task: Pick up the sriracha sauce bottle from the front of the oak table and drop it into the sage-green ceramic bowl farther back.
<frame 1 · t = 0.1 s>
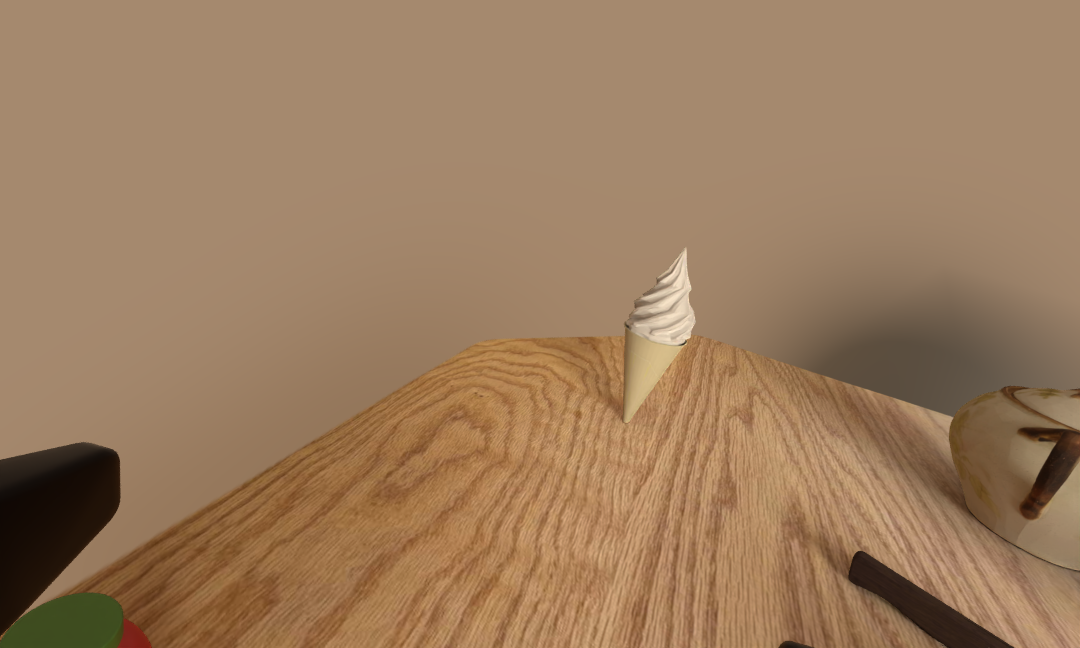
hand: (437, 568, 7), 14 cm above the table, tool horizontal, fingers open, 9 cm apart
sugar bowl: (1022, 533, 43), on the table
ice cream cone: (625, 423, 44), on the table
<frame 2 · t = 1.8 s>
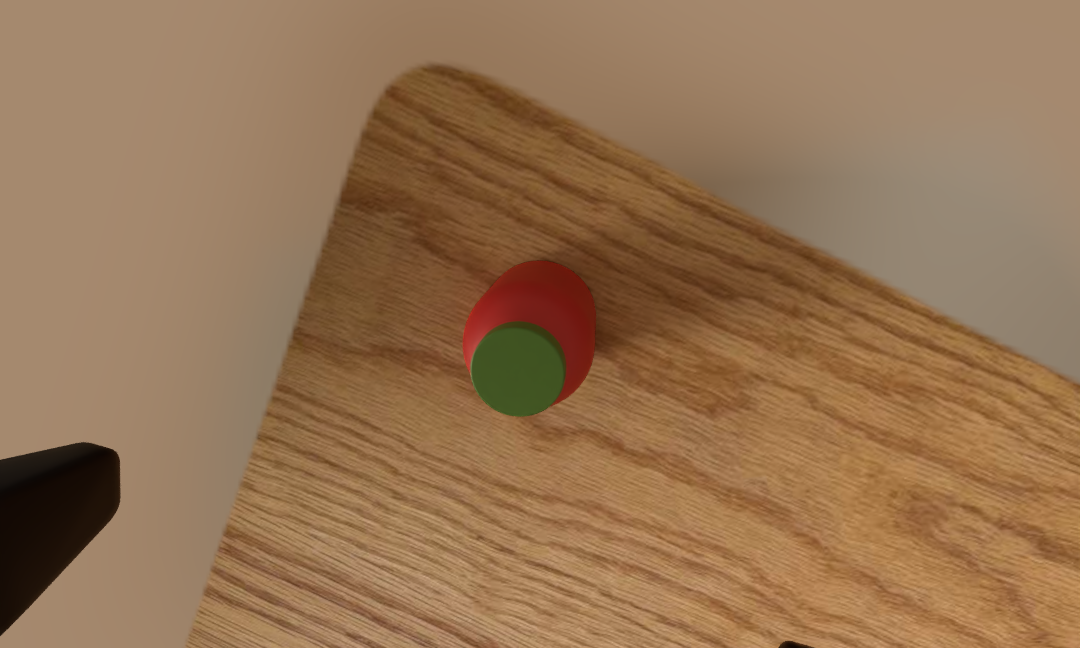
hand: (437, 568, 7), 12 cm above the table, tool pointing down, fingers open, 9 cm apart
sriracha sauce bottle: (540, 315, 18), on the table
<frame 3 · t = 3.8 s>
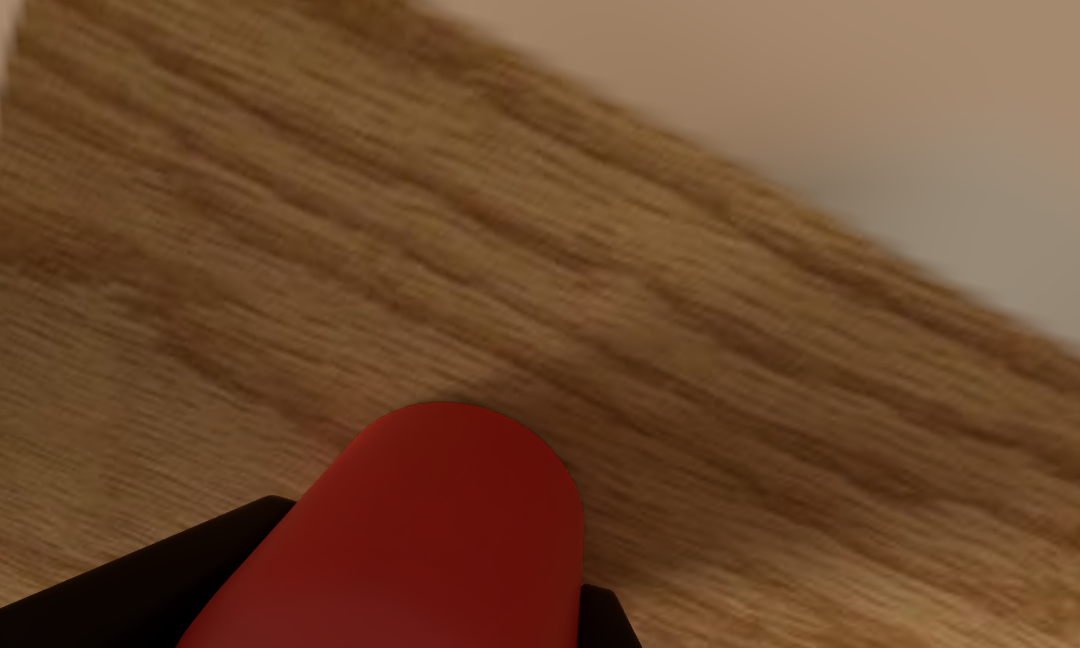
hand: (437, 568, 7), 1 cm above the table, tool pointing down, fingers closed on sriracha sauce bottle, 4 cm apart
sriracha sauce bottle: (456, 516, 8), on the table, touching gripper
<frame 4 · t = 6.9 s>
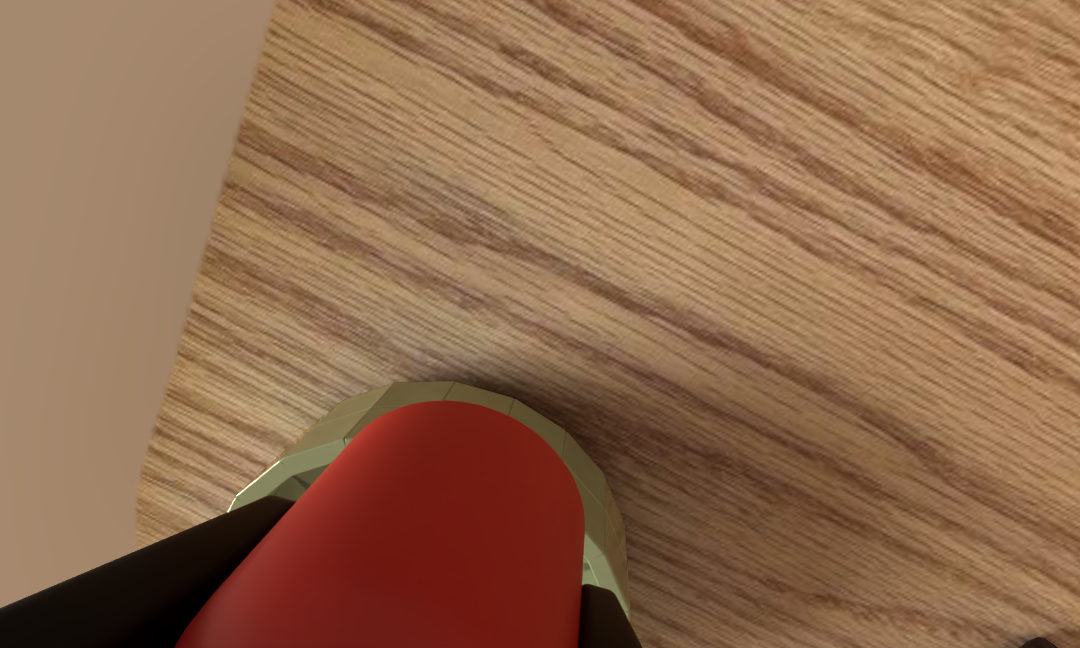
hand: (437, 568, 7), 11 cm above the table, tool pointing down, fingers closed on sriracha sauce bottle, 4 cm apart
serving bowl: (451, 532, 21), on the table
sriracha sauce bottle: (457, 515, 8), point 10 cm above the table, touching gripper
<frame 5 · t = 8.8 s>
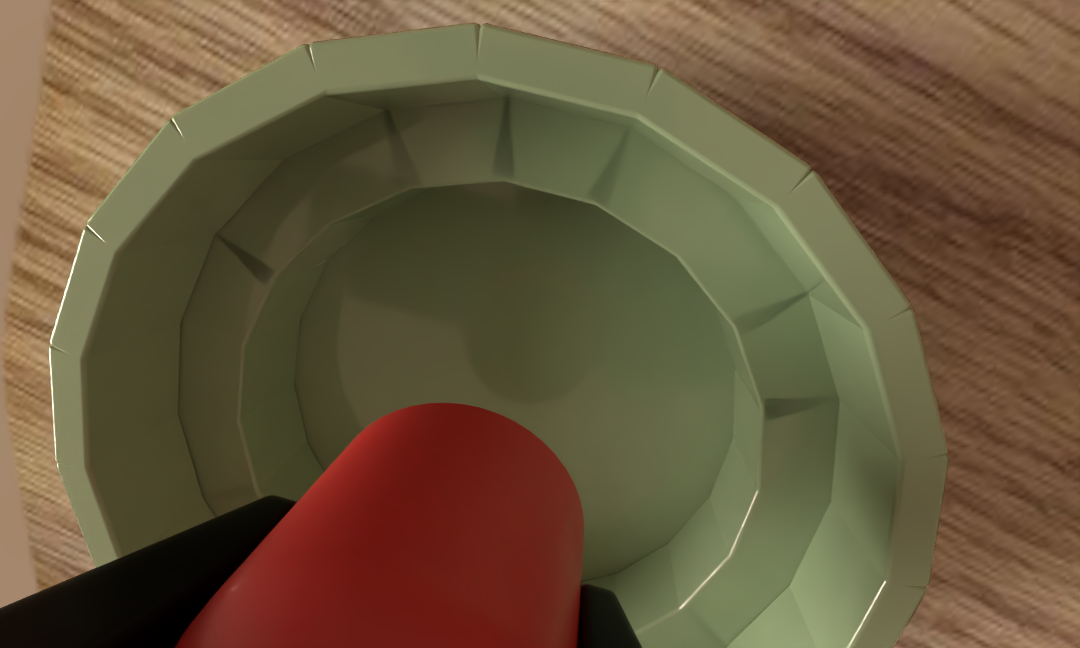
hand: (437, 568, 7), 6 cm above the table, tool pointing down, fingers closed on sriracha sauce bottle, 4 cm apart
serving bowl: (510, 396, 12), on the table
sriracha sauce bottle: (456, 517, 8), point 5 cm above the table, touching gripper
when the fingers open (2 cm above the table, at t = 10.9 s): sriracha sauce bottle stays where it is, resting on serving bowl.
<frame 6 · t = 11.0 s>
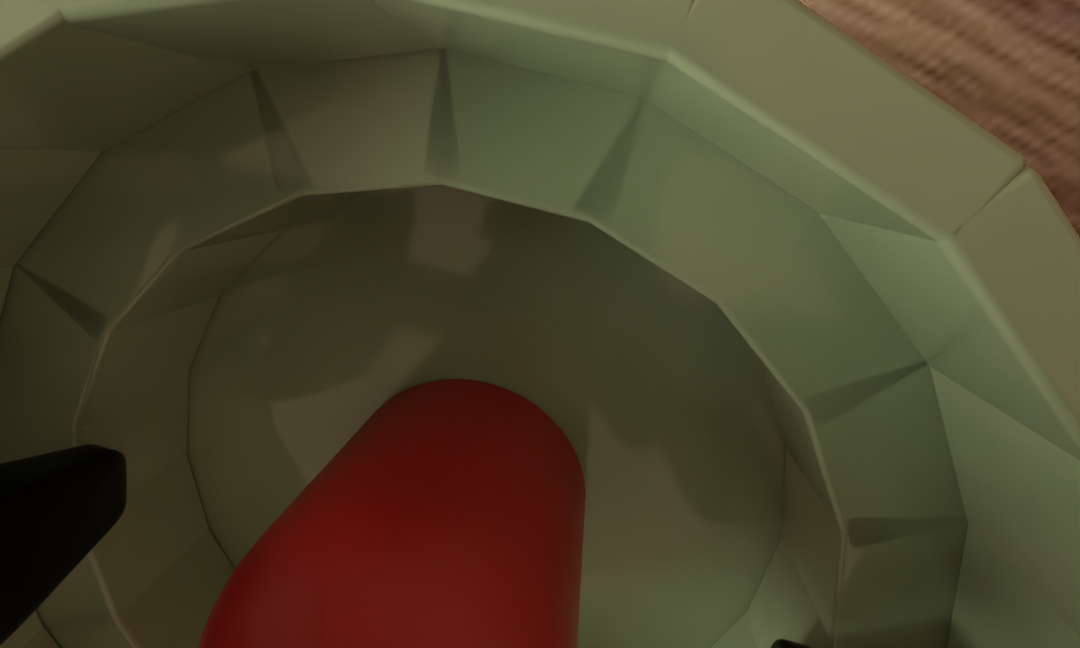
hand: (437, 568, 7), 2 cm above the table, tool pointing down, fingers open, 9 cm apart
serving bowl: (477, 470, 9), on the table
sriracha sauce bottle: (467, 486, 9), point 1 cm above the table, touching serving bowl
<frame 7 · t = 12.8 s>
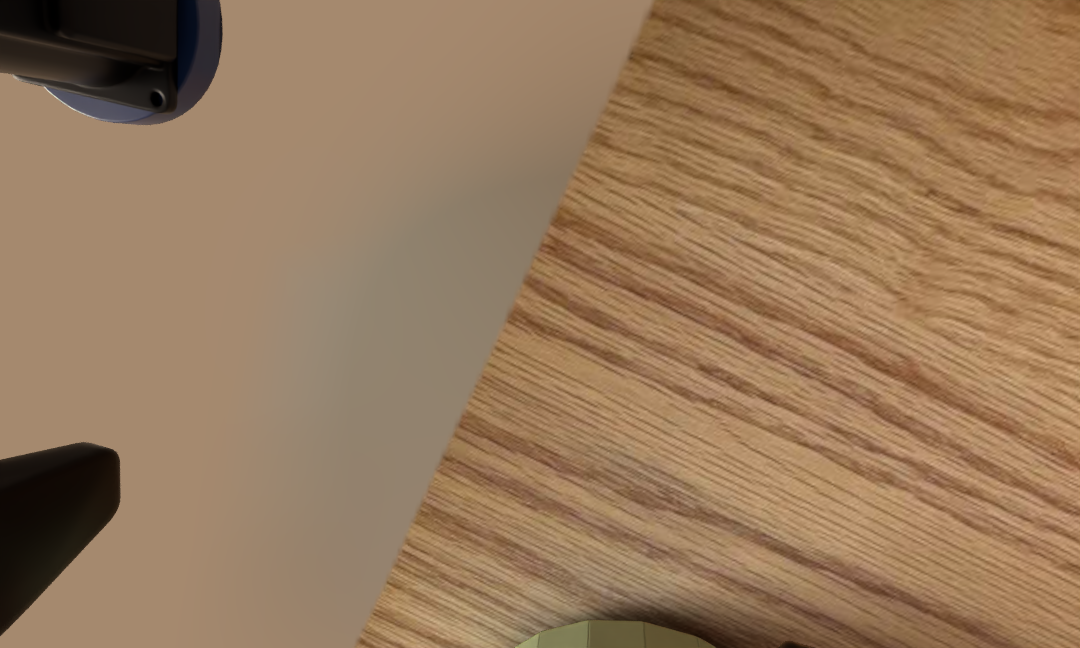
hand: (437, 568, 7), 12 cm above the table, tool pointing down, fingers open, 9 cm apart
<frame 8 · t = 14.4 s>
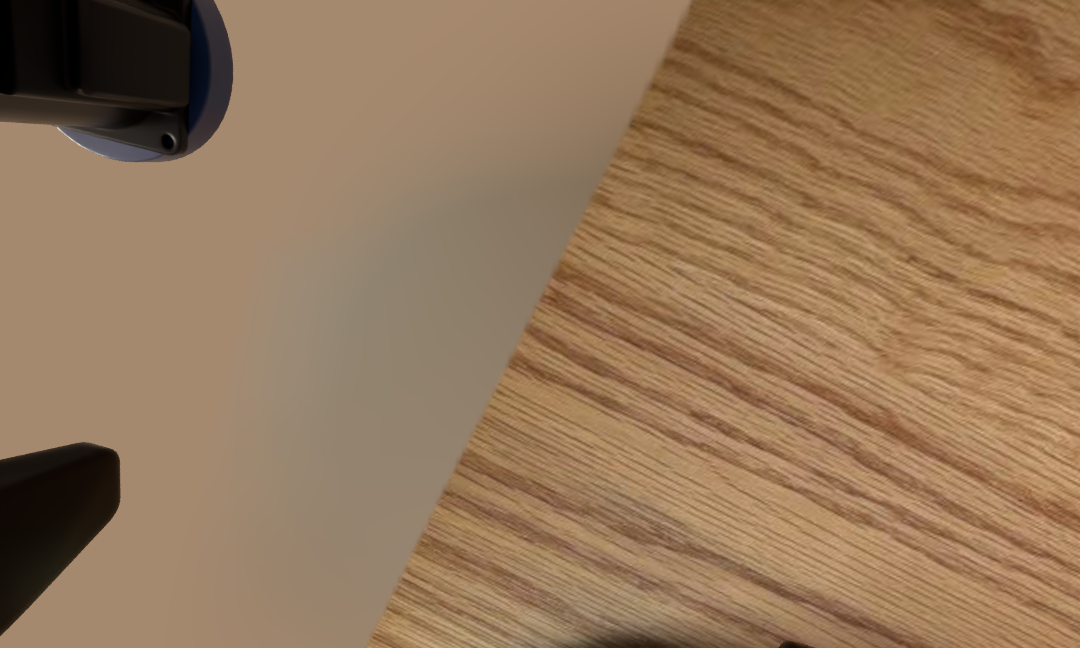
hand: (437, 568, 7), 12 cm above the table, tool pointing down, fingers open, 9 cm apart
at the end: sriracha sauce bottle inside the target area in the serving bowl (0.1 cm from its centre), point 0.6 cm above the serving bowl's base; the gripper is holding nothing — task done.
